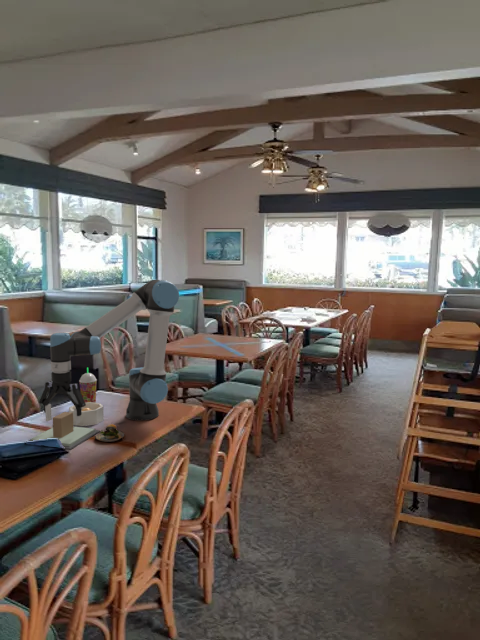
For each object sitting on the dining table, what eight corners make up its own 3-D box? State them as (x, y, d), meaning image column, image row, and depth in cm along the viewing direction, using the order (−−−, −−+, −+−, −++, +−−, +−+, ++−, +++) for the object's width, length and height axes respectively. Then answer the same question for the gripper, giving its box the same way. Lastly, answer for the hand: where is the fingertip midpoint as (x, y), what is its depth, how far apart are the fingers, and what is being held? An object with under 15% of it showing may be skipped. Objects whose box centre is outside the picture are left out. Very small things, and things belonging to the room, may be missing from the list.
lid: (94, 431, 205) (94, 410, 204) (69, 446, 188) (69, 424, 187) (58, 427, 209) (57, 406, 208) (30, 441, 192) (29, 419, 191)
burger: (89, 441, 195) (88, 424, 194) (108, 432, 206) (107, 415, 205) (112, 446, 190) (112, 428, 189) (131, 437, 201) (130, 419, 200)
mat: (99, 431, 206) (99, 430, 206) (70, 449, 186) (70, 448, 186) (57, 426, 211) (57, 425, 211) (24, 444, 191) (24, 442, 191)
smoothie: (76, 408, 239) (75, 368, 236) (87, 403, 246) (86, 365, 244) (89, 410, 236) (88, 370, 233) (100, 405, 243) (99, 366, 241)
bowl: (108, 417, 225) (108, 403, 224) (91, 427, 211) (91, 412, 211) (81, 414, 228) (81, 401, 228) (63, 424, 215) (63, 410, 214)
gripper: (28, 371, 195) (30, 421, 197) (82, 375, 188) (84, 427, 191) (40, 367, 202) (42, 416, 205) (93, 371, 196) (94, 421, 198)
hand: (62, 421), depth 198 cm, fingers open, 13 cm apart
